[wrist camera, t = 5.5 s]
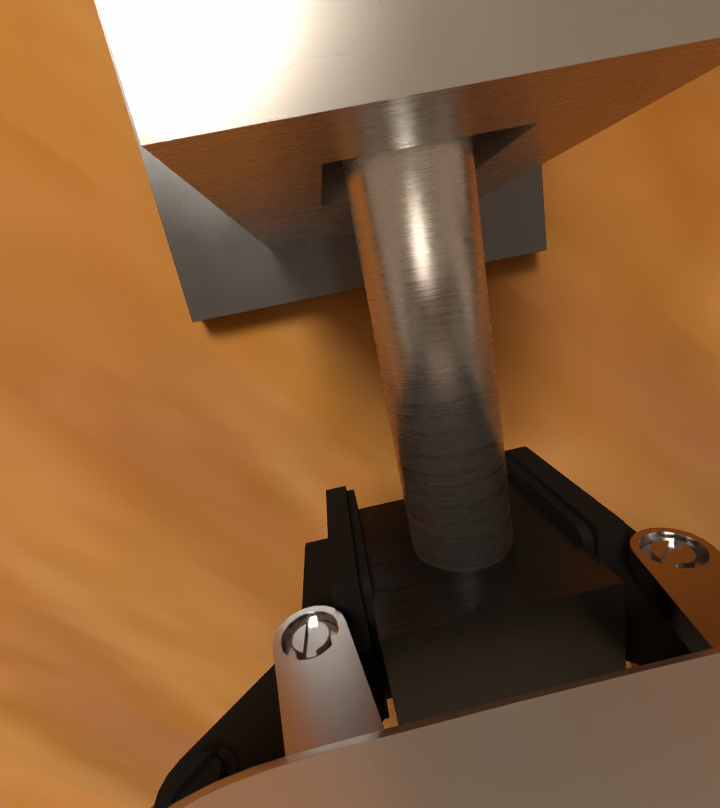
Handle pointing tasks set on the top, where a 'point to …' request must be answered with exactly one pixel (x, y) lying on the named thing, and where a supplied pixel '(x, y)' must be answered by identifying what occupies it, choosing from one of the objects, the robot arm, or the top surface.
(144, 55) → the frame
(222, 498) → the top surface
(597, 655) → the shaft
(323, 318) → the top surface
